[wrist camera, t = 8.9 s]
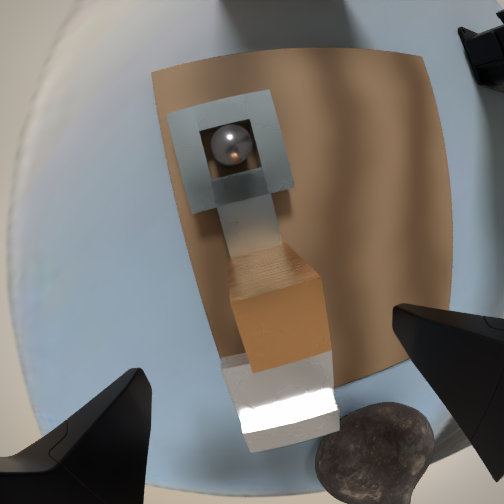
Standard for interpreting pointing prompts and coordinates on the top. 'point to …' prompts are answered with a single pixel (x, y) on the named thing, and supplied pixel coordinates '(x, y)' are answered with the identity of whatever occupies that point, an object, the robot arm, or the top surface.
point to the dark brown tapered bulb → (376, 455)
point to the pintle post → (231, 145)
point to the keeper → (283, 400)
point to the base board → (332, 188)
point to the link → (254, 232)
